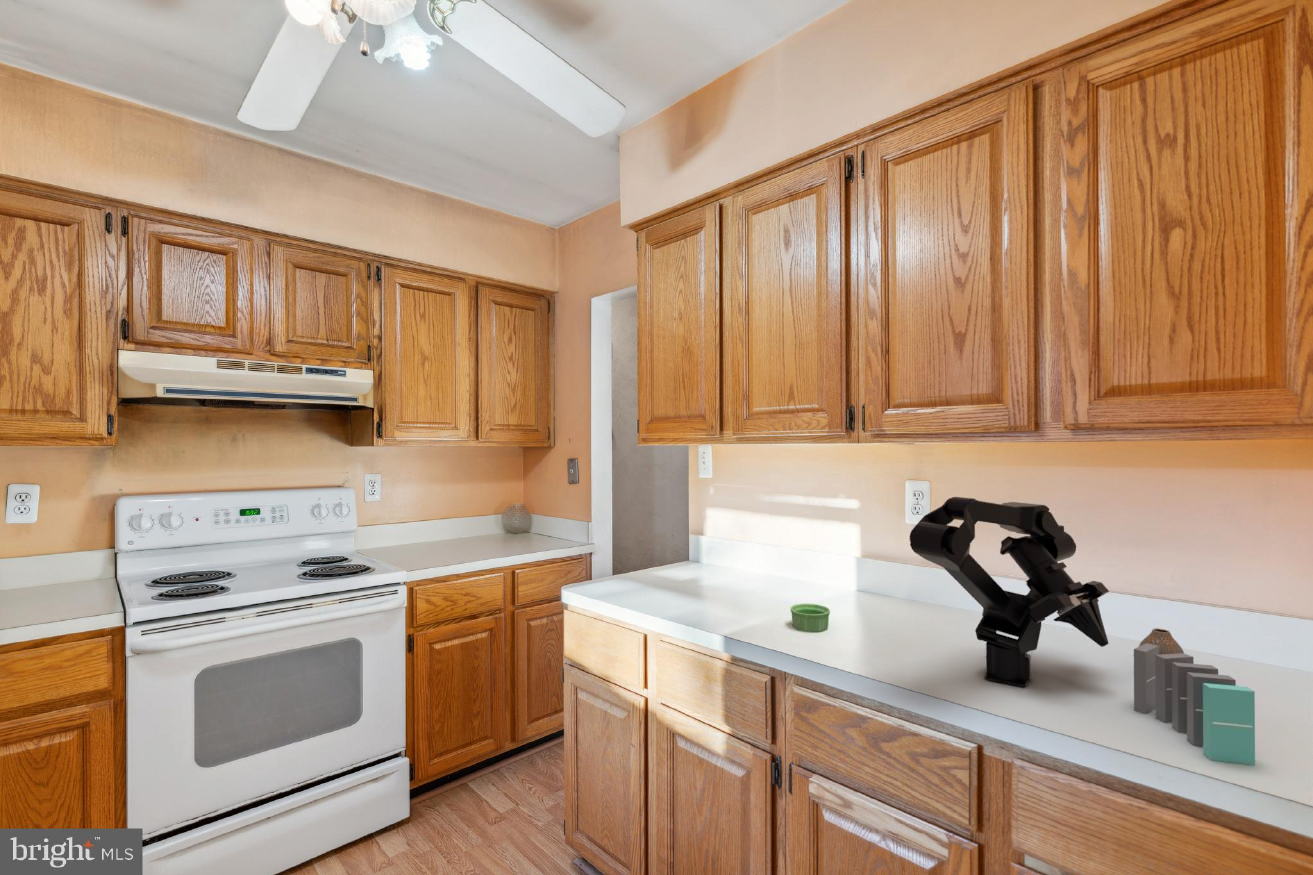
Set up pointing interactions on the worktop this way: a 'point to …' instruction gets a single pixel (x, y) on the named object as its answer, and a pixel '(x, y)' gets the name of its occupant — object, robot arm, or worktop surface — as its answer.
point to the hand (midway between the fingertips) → (1105, 645)
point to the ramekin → (810, 617)
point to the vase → (1163, 642)
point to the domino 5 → (1229, 723)
